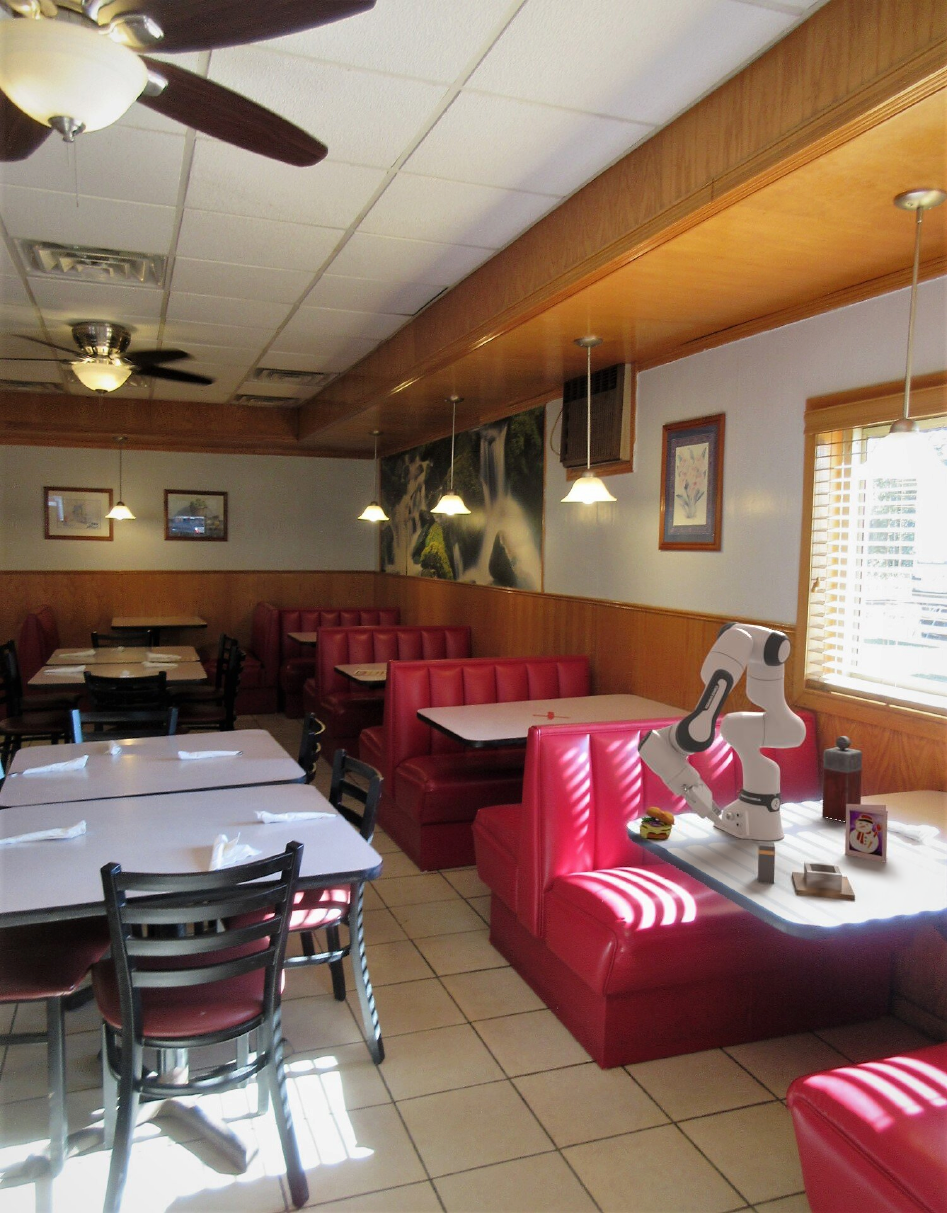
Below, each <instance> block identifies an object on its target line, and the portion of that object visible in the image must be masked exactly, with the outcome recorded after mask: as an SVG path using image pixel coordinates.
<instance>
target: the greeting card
mask: <svg viewBox="0 0 947 1213" xmlns="http://www.w3.org/2000/svg"><path fill="white" fill-rule="evenodd" d="M887 841H888V810H887V805H886V804H862V803H861V804H846V823H845V841H844V842H845V846H844V847H845V848H844V855H849V856H853V857H858V856H859V857H858V858H863V859H867V858H868V860H872V859H873V860H874V861H877V860H878V861H879V862H882V861H885V862H884V863H887V854H888V852H887V851H888V850H887V849H888V848H887V847H888V846H887V845H888V842H887ZM873 860H872V861H873Z"/></svg>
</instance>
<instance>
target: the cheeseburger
mask: <svg viewBox="0 0 947 1213" xmlns="http://www.w3.org/2000/svg"><path fill="white" fill-rule="evenodd" d="M645 814H646V815H647V816H643V817H641V818H640V819H641V822H640V825H639V834H640V835H641V837H642V838H643V839H647V838H648V839H662V840H665V839H668V838H669V837H670V834H671V833H672V828H673V826H675V825H676V823H675V817H674V814H673V813H671V812H669V811H667V810H665V811H663V810H661V808H660V807H656V806H650V807H648V809H646V812H645Z"/></svg>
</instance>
